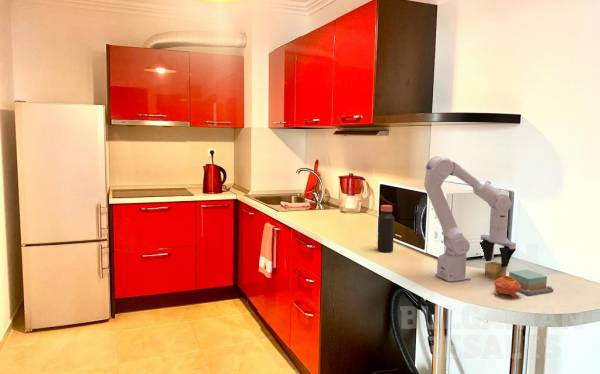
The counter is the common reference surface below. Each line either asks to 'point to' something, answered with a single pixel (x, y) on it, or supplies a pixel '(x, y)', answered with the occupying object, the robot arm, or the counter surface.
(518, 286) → the orange rounded lump
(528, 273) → the teal block with base
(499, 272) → the ochre brick
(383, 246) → the black water bottle
